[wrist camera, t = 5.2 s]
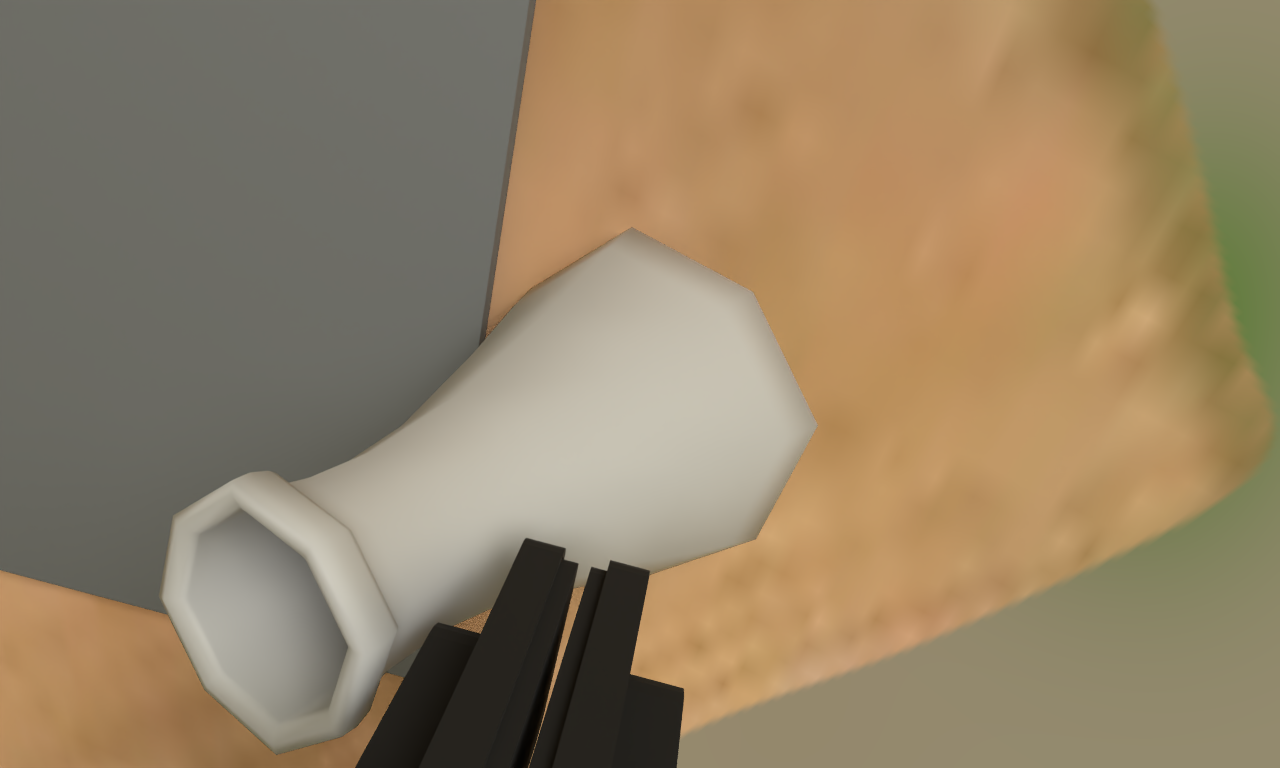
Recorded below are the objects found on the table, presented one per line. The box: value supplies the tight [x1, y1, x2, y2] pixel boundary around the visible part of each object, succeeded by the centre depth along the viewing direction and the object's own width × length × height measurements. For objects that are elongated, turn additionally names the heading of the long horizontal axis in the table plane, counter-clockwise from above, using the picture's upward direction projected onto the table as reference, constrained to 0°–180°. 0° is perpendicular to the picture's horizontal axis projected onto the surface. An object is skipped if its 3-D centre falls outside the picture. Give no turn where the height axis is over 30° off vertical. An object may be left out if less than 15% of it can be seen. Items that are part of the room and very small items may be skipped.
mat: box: [0, 0, 536, 677], centre depth 19 cm, size 14×20×1 cm
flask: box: [159, 227, 818, 755], centre depth 14 cm, size 7×7×10 cm
